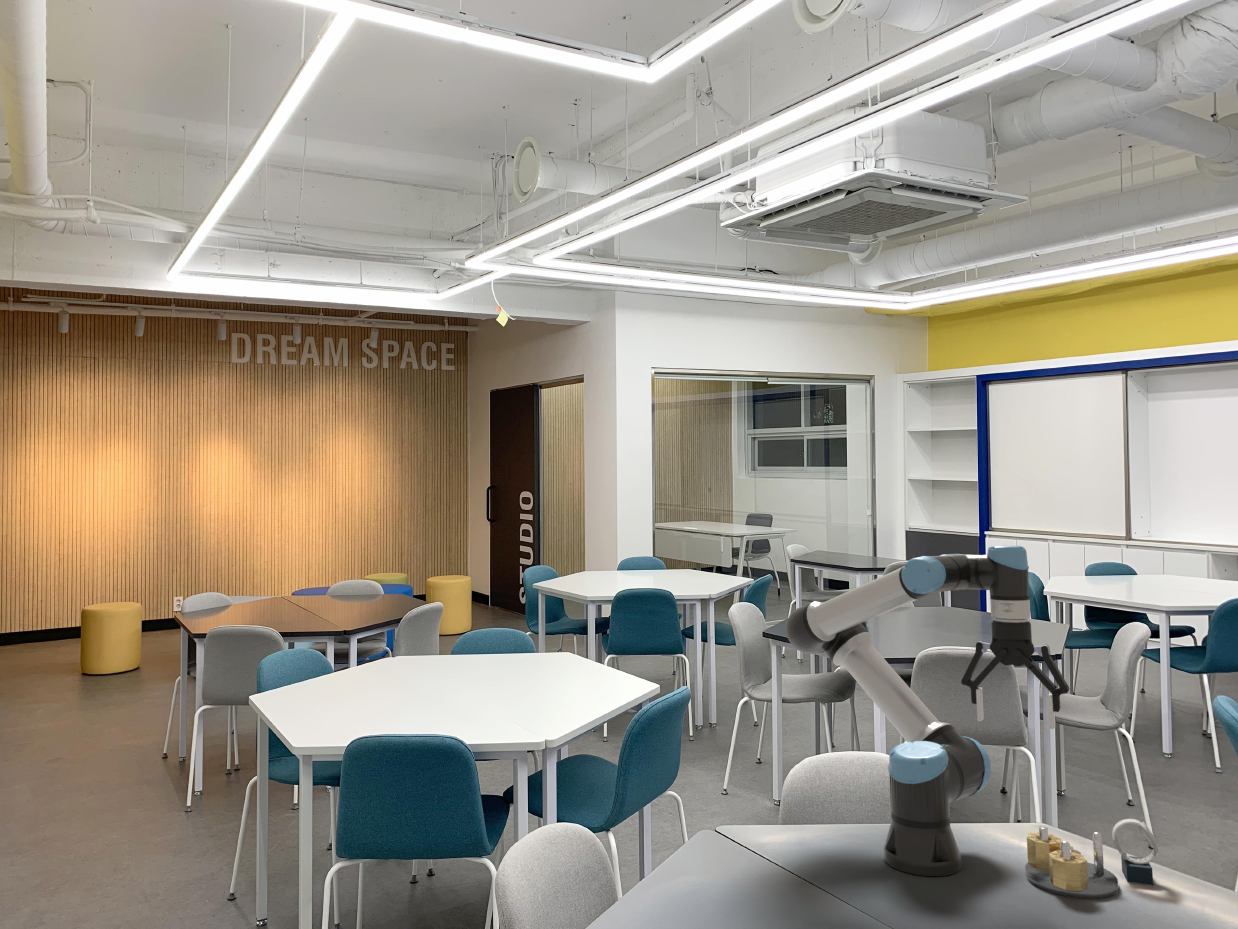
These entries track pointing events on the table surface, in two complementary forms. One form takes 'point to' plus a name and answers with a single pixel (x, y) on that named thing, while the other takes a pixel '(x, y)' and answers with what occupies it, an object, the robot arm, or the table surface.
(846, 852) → the table surface
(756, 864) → the table surface
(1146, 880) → the watch
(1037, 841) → the planet gear
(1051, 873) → the planet gear
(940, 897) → the table surface
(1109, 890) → the carrier
